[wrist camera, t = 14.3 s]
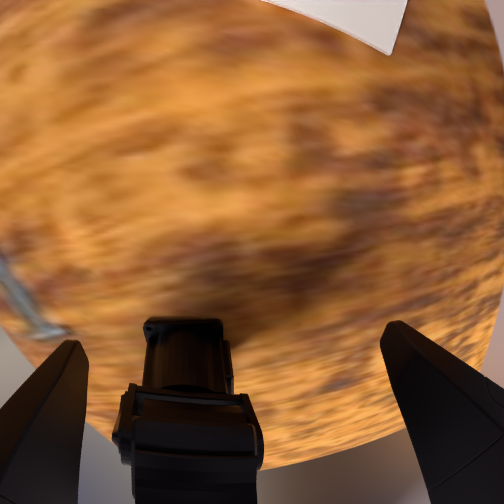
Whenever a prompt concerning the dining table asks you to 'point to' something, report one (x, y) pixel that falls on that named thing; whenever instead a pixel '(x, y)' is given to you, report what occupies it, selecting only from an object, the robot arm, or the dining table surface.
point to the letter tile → (355, 18)
